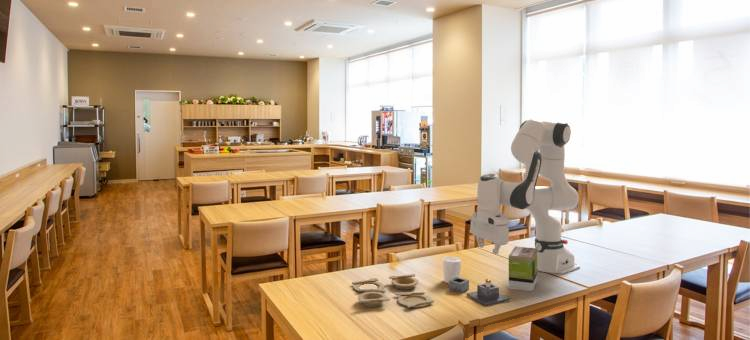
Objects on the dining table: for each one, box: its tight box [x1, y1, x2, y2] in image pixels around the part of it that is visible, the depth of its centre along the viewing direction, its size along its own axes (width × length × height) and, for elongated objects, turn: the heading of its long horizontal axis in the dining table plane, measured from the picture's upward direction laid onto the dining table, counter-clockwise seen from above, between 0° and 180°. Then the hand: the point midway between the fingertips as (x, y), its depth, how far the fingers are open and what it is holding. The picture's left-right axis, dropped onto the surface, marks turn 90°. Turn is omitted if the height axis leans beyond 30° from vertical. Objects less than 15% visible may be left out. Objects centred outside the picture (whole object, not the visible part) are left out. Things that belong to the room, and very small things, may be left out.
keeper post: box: [466, 278, 511, 307], centre depth 194 cm, size 12×12×8 cm
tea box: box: [508, 246, 538, 292], centre depth 208 cm, size 15×10×15 cm
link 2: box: [476, 282, 500, 300], centre depth 194 cm, size 6×6×4 cm
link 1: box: [448, 277, 470, 294], centre depth 204 cm, size 6×6×4 cm
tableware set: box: [351, 273, 435, 309], centre depth 199 cm, size 35×29×4 cm
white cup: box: [442, 256, 462, 284], centre depth 214 cm, size 8×8×10 cm
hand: (488, 250), depth 192 cm, fingers open, 8 cm apart
